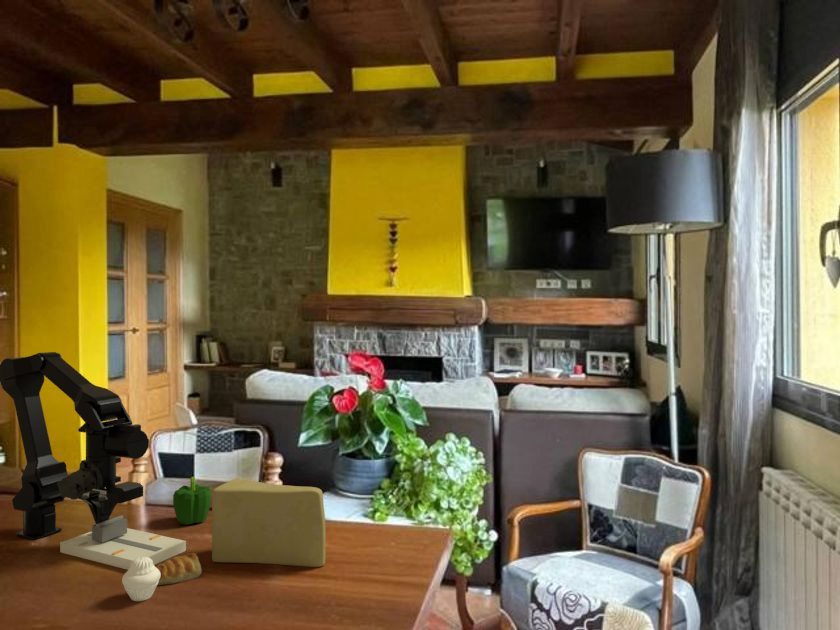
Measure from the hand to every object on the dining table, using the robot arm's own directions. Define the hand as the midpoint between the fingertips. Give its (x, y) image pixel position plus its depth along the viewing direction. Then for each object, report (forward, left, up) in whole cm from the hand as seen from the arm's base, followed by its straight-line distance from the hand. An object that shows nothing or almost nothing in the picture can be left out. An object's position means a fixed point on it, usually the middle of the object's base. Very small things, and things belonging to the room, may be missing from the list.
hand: (100, 528), depth 133 cm
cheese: (+36, +10, -4) cm, 38 cm away
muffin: (+27, -13, -4) cm, 30 cm away
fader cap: (+3, 0, -1) cm, 3 cm away
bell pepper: (+6, +20, -4) cm, 21 cm away
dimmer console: (+7, 0, -4) cm, 8 cm away
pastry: (+26, -4, -4) cm, 26 cm away
